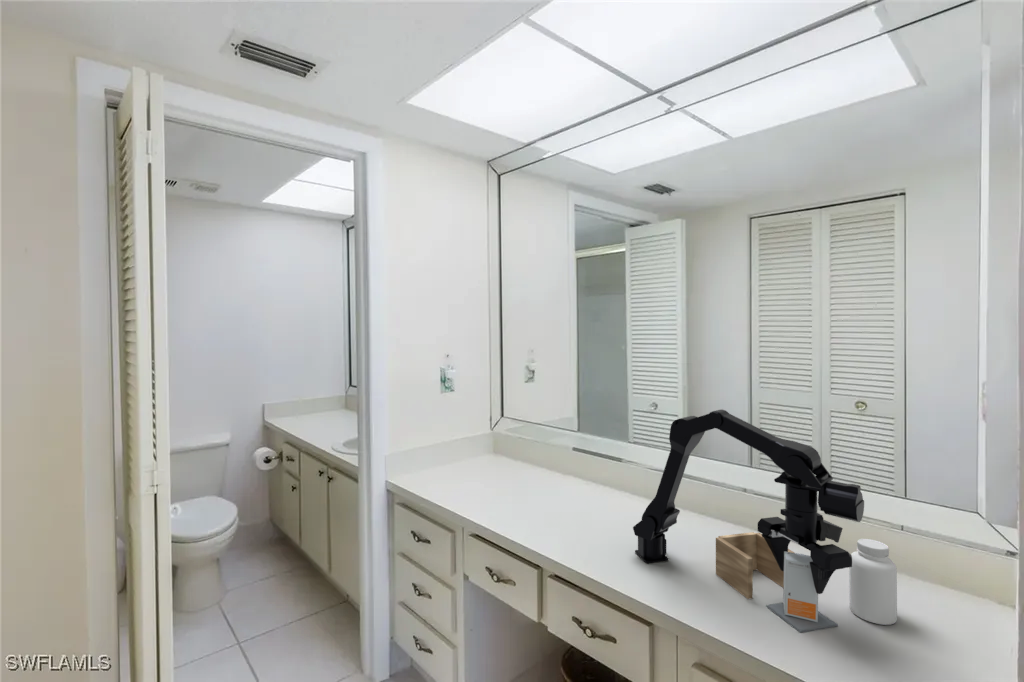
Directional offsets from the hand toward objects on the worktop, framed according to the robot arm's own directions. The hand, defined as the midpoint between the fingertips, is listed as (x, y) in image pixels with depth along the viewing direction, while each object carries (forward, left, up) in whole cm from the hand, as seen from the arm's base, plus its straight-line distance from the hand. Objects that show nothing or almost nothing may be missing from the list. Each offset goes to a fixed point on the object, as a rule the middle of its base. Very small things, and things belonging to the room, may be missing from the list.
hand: (800, 581), depth 99 cm
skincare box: (0, 0, -7) cm, 7 cm away
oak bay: (0, +13, -7) cm, 15 cm away
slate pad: (0, 0, -7) cm, 7 cm away
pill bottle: (+15, -3, -8) cm, 17 cm away
